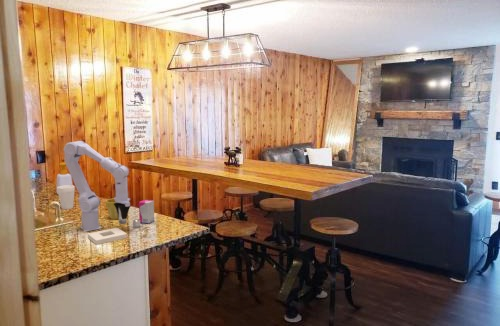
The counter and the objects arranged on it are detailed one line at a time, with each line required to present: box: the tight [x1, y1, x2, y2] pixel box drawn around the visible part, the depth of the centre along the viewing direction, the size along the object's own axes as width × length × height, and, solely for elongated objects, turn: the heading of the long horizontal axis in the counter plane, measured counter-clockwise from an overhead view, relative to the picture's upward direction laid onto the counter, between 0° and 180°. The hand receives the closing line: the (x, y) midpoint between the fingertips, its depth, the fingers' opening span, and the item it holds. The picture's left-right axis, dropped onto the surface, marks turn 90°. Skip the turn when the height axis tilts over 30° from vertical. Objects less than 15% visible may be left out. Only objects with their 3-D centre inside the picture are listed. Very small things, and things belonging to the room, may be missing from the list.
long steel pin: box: [118, 209, 128, 225], centre depth 189 cm, size 4×4×8 cm
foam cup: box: [56, 184, 76, 210], centre depth 229 cm, size 10×9×13 cm
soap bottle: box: [55, 161, 73, 195], centre depth 266 cm, size 10×14×22 cm
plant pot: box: [105, 197, 119, 220], centre depth 210 cm, size 10×10×10 cm
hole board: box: [87, 227, 128, 245], centre depth 178 cm, size 12×14×2 cm
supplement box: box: [138, 199, 155, 225], centre depth 202 cm, size 6×6×12 cm
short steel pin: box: [132, 218, 141, 229], centre depth 194 cm, size 4×4×4 cm
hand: (122, 217), depth 189 cm, fingers closed on long steel pin, 4 cm apart
